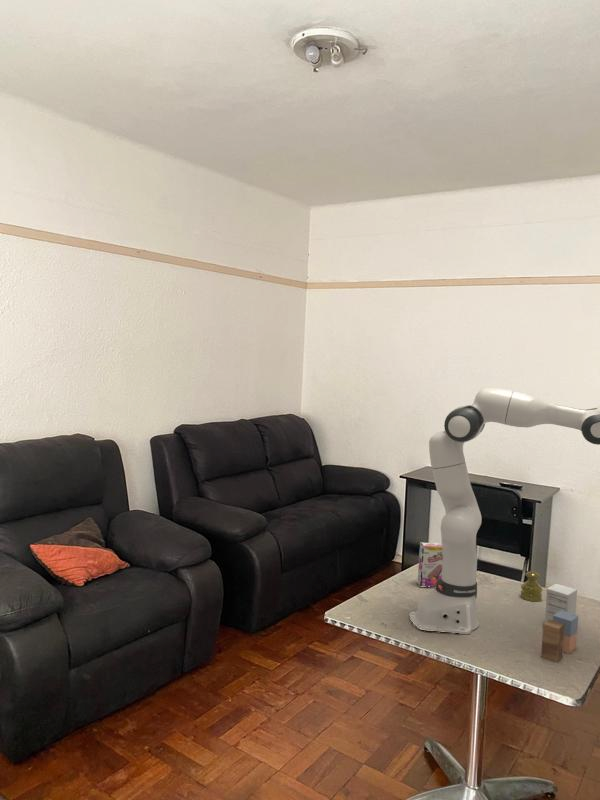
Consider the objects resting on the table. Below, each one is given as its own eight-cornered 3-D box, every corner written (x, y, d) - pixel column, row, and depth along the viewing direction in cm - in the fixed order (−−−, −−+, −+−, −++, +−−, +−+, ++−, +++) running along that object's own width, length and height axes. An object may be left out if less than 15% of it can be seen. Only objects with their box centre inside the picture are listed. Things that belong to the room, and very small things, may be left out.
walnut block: (556, 662, 185) (558, 628, 184) (541, 656, 188) (543, 623, 187) (562, 657, 188) (564, 624, 188) (547, 651, 191) (549, 619, 191)
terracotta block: (569, 653, 191) (570, 637, 191) (551, 647, 195) (552, 631, 194) (576, 647, 195) (577, 631, 195) (558, 641, 199) (559, 626, 198)
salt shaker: (535, 594, 239) (537, 568, 238) (545, 601, 231) (547, 575, 231) (516, 594, 238) (518, 568, 237) (526, 602, 230) (528, 575, 230)
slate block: (570, 637, 190) (571, 621, 190) (552, 631, 194) (553, 615, 194) (577, 631, 194) (578, 616, 194) (559, 626, 198) (560, 610, 198)
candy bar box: (420, 588, 241) (422, 545, 240) (417, 583, 246) (419, 541, 245) (449, 588, 242) (451, 546, 240) (445, 583, 247) (447, 542, 245)
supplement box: (553, 619, 216) (555, 583, 215) (575, 626, 211) (578, 589, 210) (543, 625, 211) (546, 588, 210) (566, 632, 205) (568, 594, 205)
